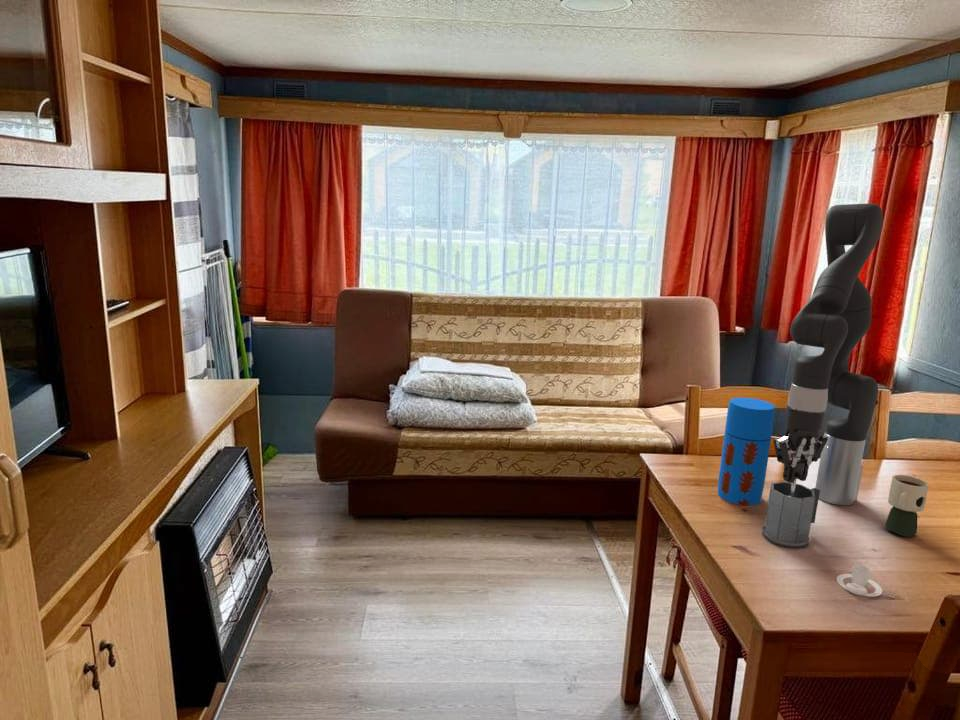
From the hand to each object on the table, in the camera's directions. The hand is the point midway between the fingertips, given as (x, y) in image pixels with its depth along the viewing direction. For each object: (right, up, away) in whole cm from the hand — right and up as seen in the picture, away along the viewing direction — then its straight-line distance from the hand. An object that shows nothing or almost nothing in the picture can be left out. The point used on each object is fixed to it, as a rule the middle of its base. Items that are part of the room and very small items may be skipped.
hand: (794, 480), depth 145 cm
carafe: (+1, -14, +4) cm, 14 cm away
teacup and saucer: (+3, -19, -14) cm, 23 cm away
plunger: (0, -10, +2) cm, 10 cm away
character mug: (+29, -14, +8) cm, 33 cm away
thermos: (-3, -9, +24) cm, 26 cm away
